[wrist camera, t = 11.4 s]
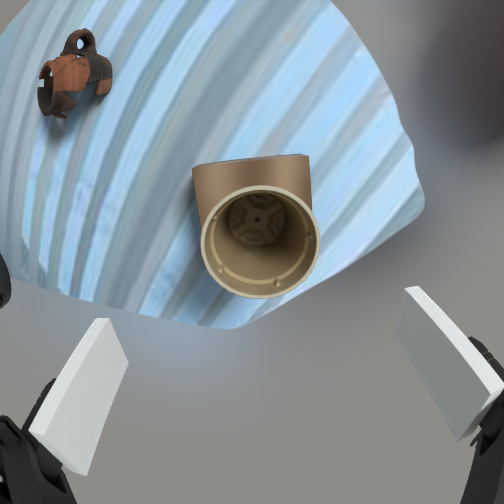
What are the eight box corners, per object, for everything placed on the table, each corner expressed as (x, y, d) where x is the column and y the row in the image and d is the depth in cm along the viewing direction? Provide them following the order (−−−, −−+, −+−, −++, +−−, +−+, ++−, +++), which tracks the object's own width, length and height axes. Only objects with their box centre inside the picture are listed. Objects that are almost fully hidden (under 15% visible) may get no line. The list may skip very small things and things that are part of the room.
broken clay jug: (112, 114, 30) (57, 127, 24) (80, 106, 33) (32, 117, 26) (125, 26, 23) (67, 25, 17) (89, 32, 26) (39, 35, 19)
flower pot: (201, 184, 29) (185, 202, 21) (291, 164, 28) (310, 174, 20) (224, 266, 32) (218, 308, 24) (307, 248, 32) (327, 285, 24)
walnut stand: (213, 257, 37) (209, 274, 32) (199, 164, 33) (191, 168, 28) (305, 247, 37) (313, 263, 32) (299, 153, 32) (308, 156, 28)
